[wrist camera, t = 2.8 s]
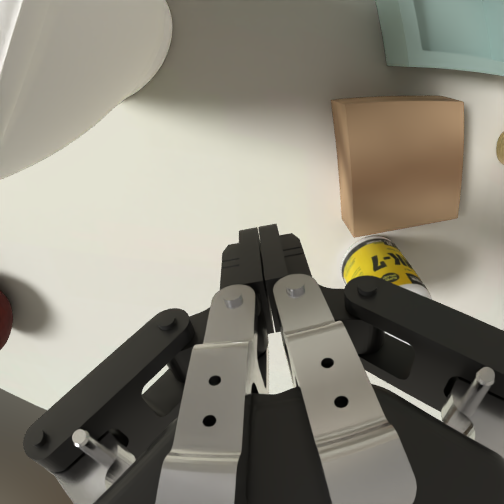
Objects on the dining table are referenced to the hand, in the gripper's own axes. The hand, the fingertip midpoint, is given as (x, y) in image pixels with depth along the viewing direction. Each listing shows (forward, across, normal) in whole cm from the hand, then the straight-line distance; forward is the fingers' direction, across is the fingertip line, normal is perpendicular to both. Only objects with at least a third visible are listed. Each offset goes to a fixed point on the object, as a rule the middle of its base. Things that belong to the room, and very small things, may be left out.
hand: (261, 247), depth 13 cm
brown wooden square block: (+8, -9, 0) cm, 12 cm away
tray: (+7, -14, -12) cm, 20 cm away
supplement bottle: (+8, -8, +8) cm, 13 cm away
